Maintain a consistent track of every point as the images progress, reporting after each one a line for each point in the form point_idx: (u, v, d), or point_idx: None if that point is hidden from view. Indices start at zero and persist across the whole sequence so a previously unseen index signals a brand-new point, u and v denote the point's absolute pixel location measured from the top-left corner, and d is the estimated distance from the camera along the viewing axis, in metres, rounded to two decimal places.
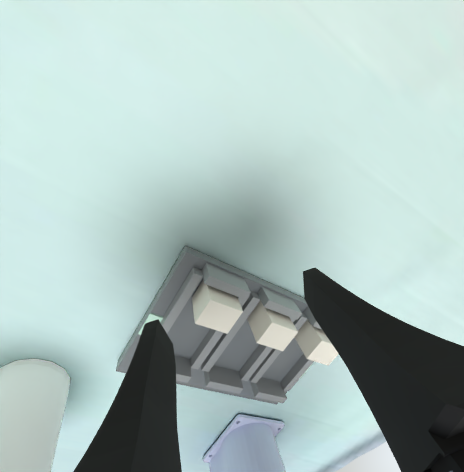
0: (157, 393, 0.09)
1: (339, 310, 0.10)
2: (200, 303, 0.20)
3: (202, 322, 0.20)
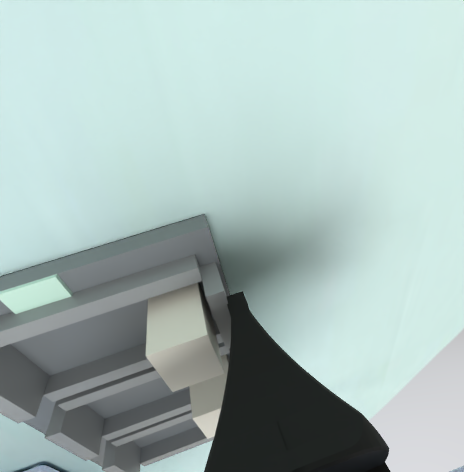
0: None
1: None
2: (173, 321, 0.10)
3: (157, 360, 0.10)
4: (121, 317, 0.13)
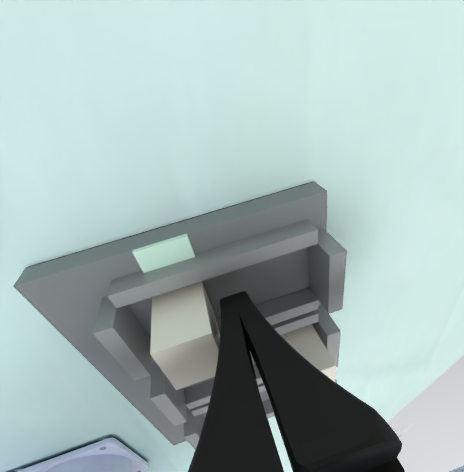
0: (250, 360, 0.10)
1: (250, 341, 0.09)
2: (177, 320, 0.11)
3: (161, 358, 0.10)
4: (228, 282, 0.13)
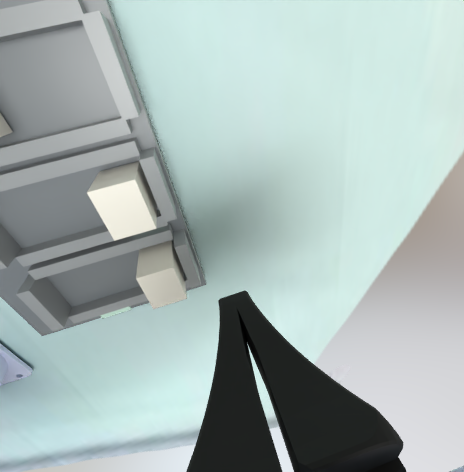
0: (248, 361, 0.10)
1: (251, 340, 0.09)
2: None
3: None
4: (13, 83, 0.12)
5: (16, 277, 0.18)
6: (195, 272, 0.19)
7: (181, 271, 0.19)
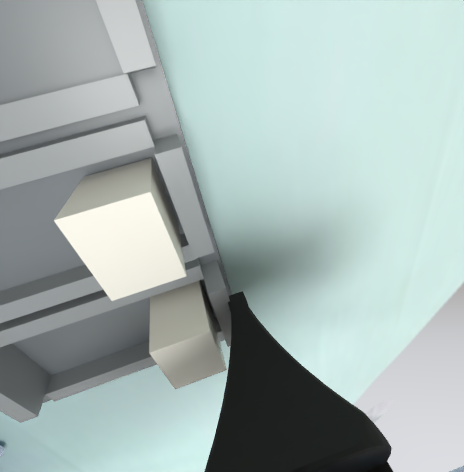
0: None
1: None
2: None
3: None
4: None
5: None
6: None
7: (213, 322, 0.13)
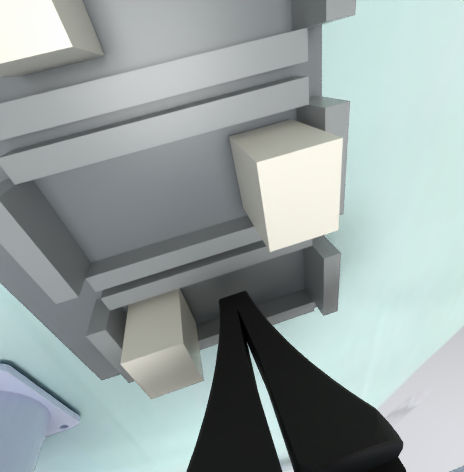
0: (249, 361, 0.10)
1: (251, 340, 0.09)
2: None
3: None
4: None
5: (77, 305, 0.12)
6: (336, 294, 0.13)
7: (193, 331, 0.13)
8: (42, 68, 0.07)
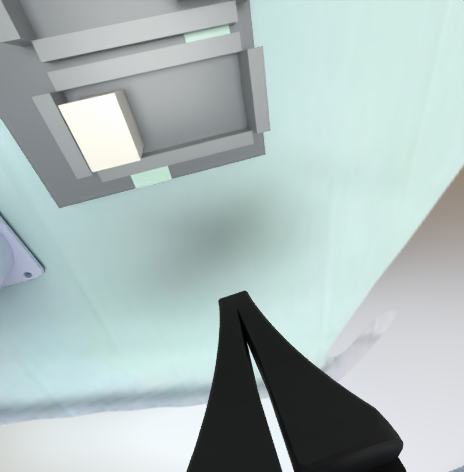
0: (248, 361, 0.10)
1: (251, 340, 0.09)
2: None
3: None
4: None
5: (30, 97, 0.13)
6: (266, 105, 0.14)
7: (137, 135, 0.14)
8: None
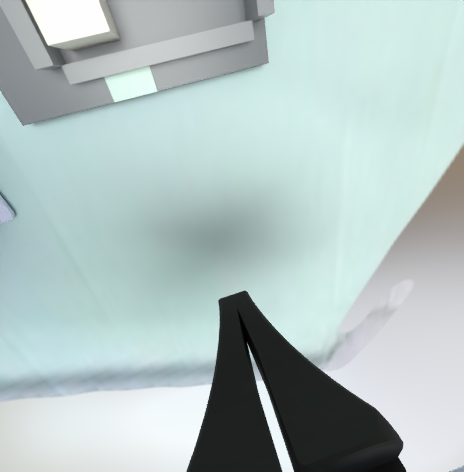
0: (248, 361, 0.10)
1: (251, 340, 0.09)
2: None
3: None
4: None
5: None
6: None
7: (109, 15, 0.11)
8: None
